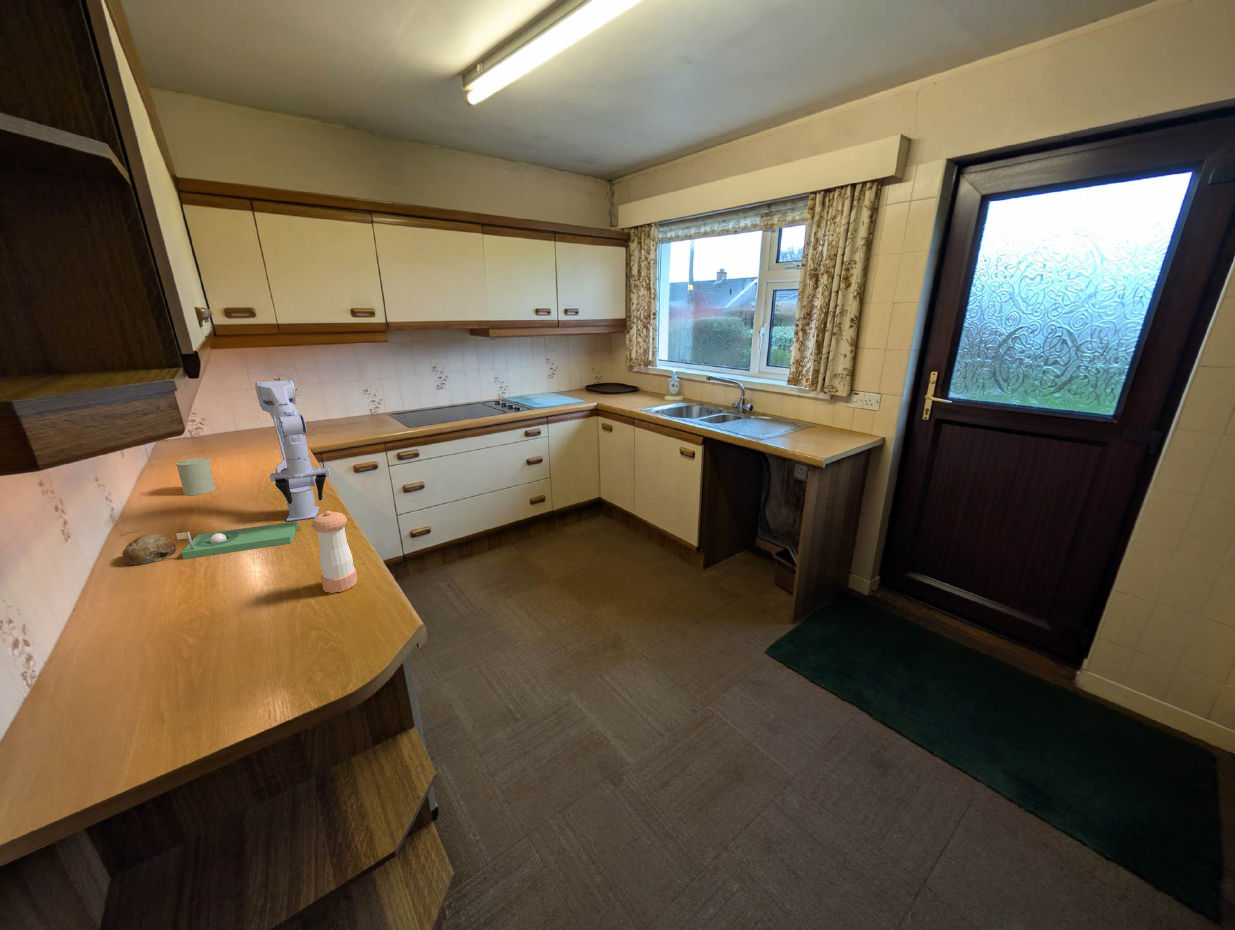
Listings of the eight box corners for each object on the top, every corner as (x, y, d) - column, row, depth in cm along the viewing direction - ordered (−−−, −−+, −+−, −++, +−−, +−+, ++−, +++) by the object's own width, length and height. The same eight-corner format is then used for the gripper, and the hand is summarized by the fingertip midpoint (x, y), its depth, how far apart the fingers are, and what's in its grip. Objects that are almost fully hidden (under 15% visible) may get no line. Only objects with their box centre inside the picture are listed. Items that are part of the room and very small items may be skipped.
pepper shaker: (319, 595, 110) (304, 519, 104) (328, 579, 117) (314, 507, 111) (353, 591, 112) (341, 515, 106) (361, 575, 119) (349, 504, 113)
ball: (222, 542, 136) (208, 536, 133) (230, 533, 135) (216, 528, 133) (219, 550, 133) (205, 545, 131) (228, 542, 133) (214, 537, 130)
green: (197, 541, 136) (191, 518, 134) (298, 527, 146) (293, 505, 144) (181, 559, 126) (174, 535, 124) (290, 543, 135) (286, 520, 133)
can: (188, 488, 177) (180, 458, 174) (219, 485, 181) (212, 455, 177) (179, 497, 169) (170, 464, 166) (212, 493, 173) (204, 461, 169)
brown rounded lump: (142, 579, 123) (145, 556, 120) (109, 560, 123) (111, 536, 120) (182, 561, 132) (186, 539, 129) (151, 544, 132) (154, 521, 130)
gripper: (263, 463, 131) (273, 509, 135) (324, 457, 137) (332, 502, 141) (269, 456, 137) (278, 501, 141) (327, 451, 143) (334, 494, 147)
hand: (305, 501), depth 141 cm, fingers open, 7 cm apart
